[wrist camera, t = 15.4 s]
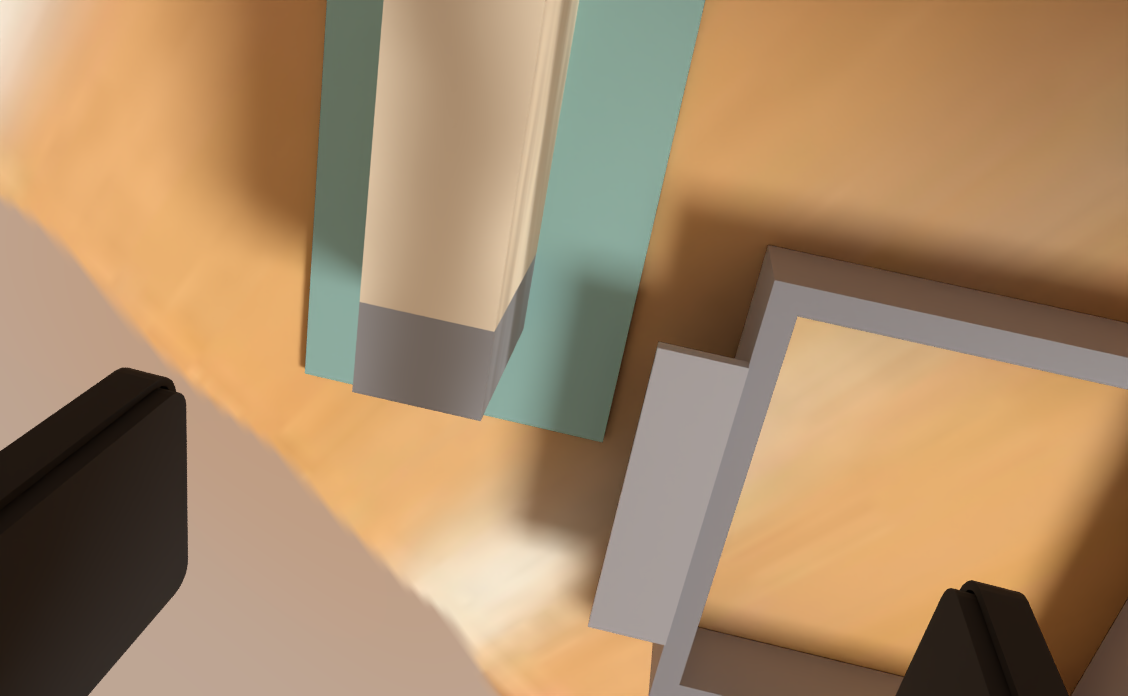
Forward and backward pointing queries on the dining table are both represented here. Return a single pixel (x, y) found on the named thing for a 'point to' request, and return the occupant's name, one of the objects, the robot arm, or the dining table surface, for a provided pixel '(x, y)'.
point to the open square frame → (728, 439)
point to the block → (456, 194)
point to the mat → (571, 213)
